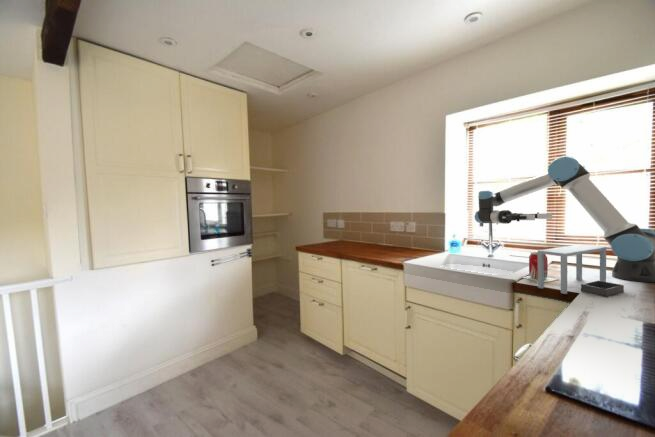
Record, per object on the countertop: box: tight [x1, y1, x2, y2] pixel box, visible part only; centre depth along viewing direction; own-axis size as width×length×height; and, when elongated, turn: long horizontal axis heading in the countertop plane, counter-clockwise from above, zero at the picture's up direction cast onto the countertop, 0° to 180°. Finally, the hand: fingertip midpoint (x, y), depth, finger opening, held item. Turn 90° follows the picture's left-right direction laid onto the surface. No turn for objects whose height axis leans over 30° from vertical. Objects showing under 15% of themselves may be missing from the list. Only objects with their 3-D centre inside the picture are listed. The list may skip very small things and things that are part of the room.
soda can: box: [528, 251, 549, 279], centre depth 131 cm, size 7×7×12 cm
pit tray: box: [580, 280, 625, 298], centre depth 109 cm, size 12×8×3 cm, turn 112°
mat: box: [521, 275, 559, 284], centre depth 131 cm, size 10×10×1 cm
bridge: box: [537, 244, 607, 295], centre depth 118 cm, size 30×10×16 cm, turn 112°
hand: (543, 216), depth 135 cm, fingers open, 13 cm apart
